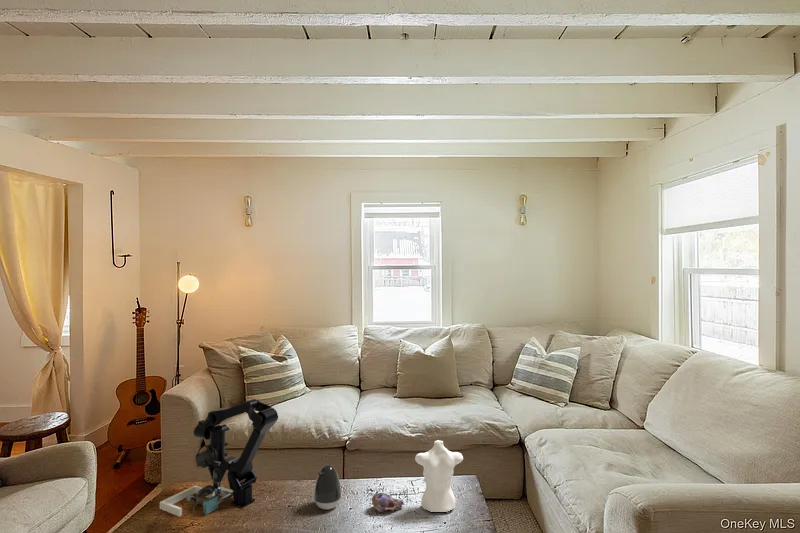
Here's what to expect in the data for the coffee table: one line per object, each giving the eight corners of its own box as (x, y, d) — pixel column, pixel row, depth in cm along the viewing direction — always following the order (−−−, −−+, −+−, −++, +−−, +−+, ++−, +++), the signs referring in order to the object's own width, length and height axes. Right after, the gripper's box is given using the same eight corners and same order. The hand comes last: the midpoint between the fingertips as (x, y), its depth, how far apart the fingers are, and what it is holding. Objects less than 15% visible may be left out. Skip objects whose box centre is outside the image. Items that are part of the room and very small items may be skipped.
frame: (214, 498, 169) (214, 491, 170) (179, 516, 156) (179, 509, 156) (195, 491, 175) (195, 485, 175) (159, 508, 161) (159, 501, 162)
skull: (402, 503, 166) (402, 487, 166) (405, 514, 159) (405, 497, 159) (371, 505, 165) (371, 489, 165) (372, 516, 157) (372, 499, 157)
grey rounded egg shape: (307, 509, 162) (308, 467, 162) (324, 497, 171) (325, 457, 171) (329, 516, 157) (330, 473, 157) (346, 503, 166) (346, 462, 167)
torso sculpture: (459, 500, 169) (459, 434, 170) (465, 513, 159) (465, 444, 160) (412, 501, 167) (413, 435, 168) (415, 515, 158) (416, 445, 158)
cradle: (225, 492, 174) (225, 485, 174) (214, 498, 170) (214, 490, 170) (221, 491, 175) (221, 484, 175) (211, 496, 170) (211, 489, 171)
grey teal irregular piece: (236, 497, 169) (237, 472, 170) (206, 514, 157) (206, 487, 157) (214, 490, 175) (214, 465, 176) (182, 505, 163) (183, 479, 163)
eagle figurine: (207, 508, 160) (219, 492, 169) (196, 493, 159) (209, 477, 168) (192, 518, 161) (204, 501, 170) (180, 502, 160) (193, 486, 169)
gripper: (183, 443, 171) (182, 484, 170) (216, 452, 162) (215, 495, 161) (208, 435, 180) (207, 473, 180) (240, 443, 172) (239, 483, 171)
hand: (216, 481), depth 173 cm, fingers closed on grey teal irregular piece, 3 cm apart
